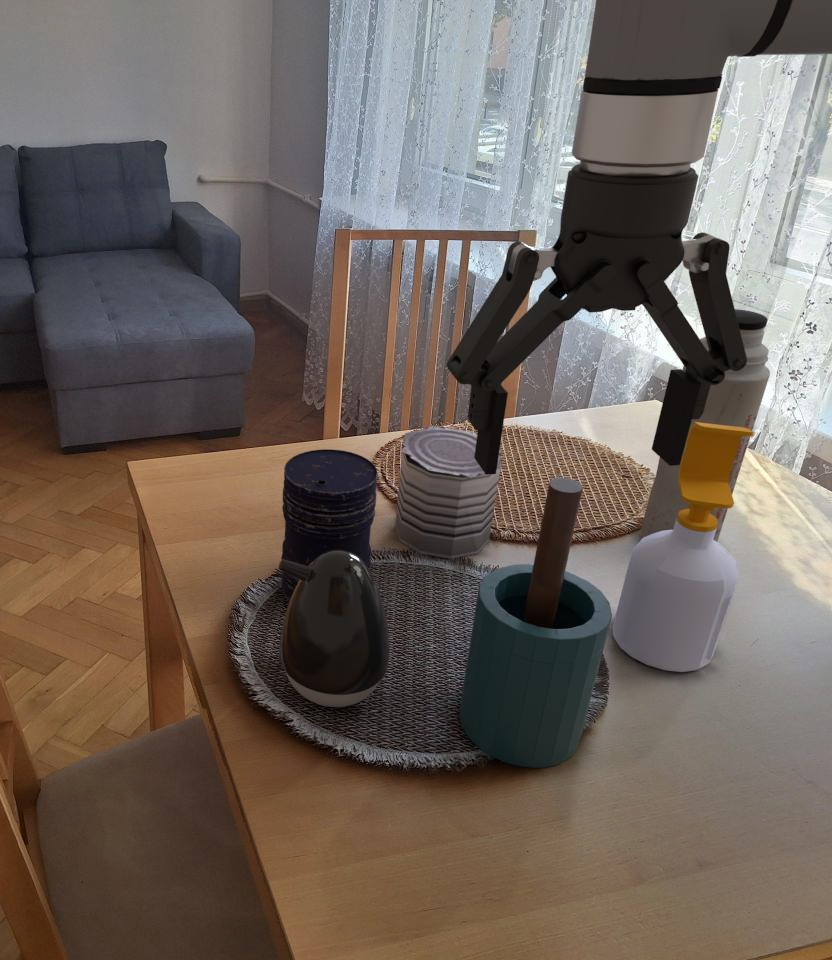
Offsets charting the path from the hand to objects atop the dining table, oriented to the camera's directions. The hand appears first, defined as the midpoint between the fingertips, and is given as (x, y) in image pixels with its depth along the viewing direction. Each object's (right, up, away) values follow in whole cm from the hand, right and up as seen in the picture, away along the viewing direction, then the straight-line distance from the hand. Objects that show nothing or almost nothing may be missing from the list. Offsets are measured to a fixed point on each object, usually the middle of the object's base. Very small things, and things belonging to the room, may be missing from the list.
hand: (575, 462), depth 64 cm
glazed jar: (+1, -23, +13) cm, 27 cm away
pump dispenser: (-15, -21, +18) cm, 32 cm away
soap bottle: (+18, -18, +22) cm, 34 cm away
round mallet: (+1, -23, +13) cm, 26 cm away
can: (+2, -8, +41) cm, 42 cm away
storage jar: (-14, -14, +32) cm, 38 cm away
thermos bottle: (+29, -9, +38) cm, 48 cm away
